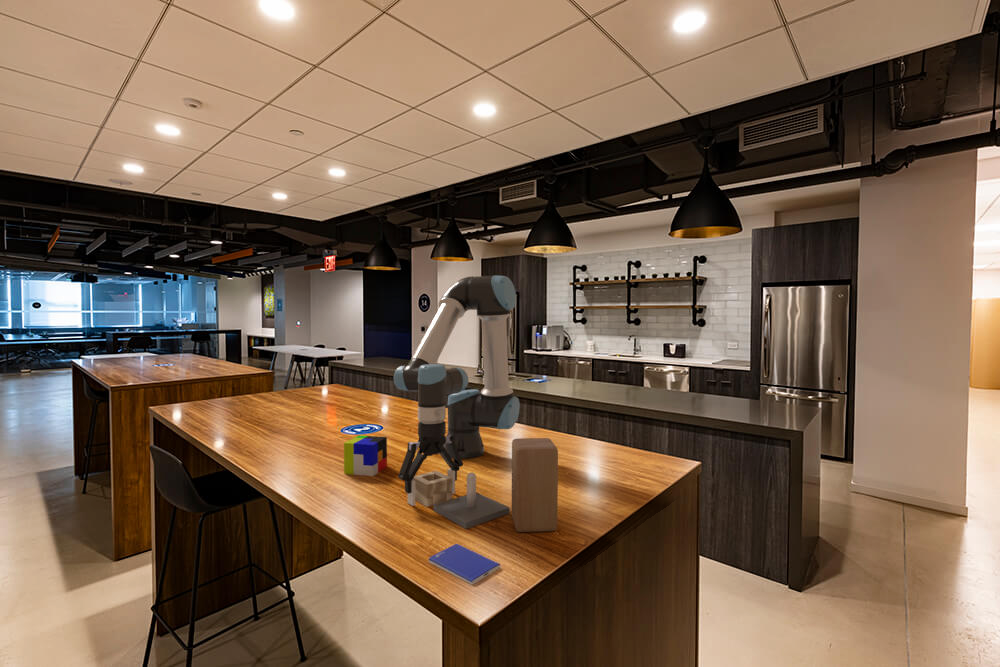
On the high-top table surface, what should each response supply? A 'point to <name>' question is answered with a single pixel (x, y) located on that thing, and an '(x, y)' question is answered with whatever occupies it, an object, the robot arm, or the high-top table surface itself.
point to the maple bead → (432, 488)
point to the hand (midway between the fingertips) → (431, 498)
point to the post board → (471, 507)
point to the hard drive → (464, 563)
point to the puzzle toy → (365, 455)
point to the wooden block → (534, 484)
